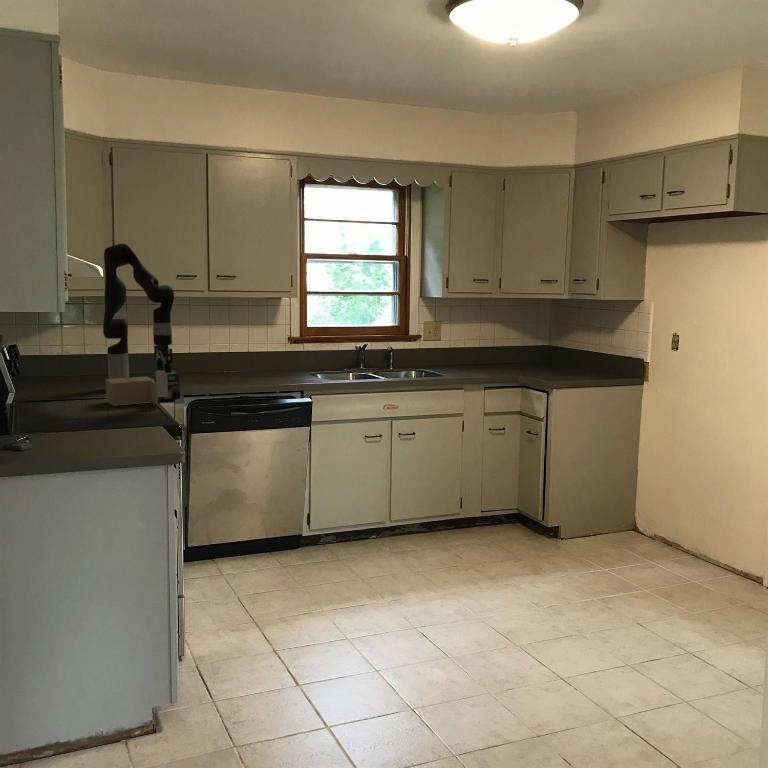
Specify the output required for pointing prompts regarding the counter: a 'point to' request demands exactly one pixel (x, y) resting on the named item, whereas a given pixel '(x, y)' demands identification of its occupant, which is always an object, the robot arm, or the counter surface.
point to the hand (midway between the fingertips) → (163, 371)
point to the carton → (128, 390)
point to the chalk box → (171, 384)
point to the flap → (159, 386)
